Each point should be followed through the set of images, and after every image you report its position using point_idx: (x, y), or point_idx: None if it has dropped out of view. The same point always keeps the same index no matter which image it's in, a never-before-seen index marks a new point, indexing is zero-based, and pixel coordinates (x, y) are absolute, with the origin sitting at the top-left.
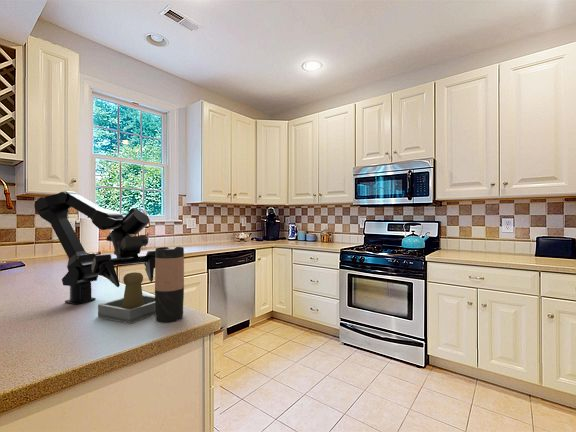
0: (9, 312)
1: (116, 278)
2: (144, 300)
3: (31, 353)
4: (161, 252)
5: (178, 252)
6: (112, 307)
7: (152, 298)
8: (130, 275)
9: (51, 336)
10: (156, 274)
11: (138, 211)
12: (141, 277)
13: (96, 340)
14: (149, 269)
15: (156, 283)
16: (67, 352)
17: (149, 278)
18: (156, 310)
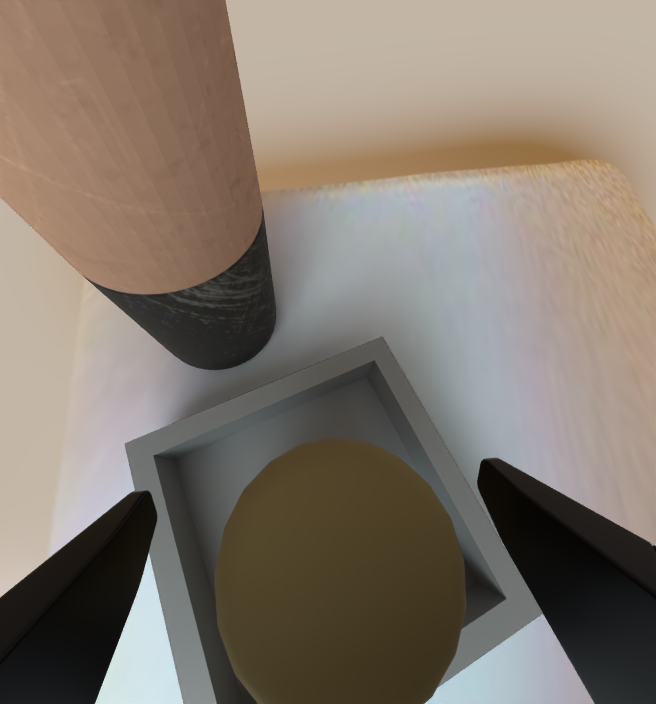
0: None
1: (559, 502)
2: (216, 643)
3: (644, 301)
4: None
5: None
6: (455, 463)
7: (183, 555)
8: (401, 480)
9: (639, 417)
10: (239, 82)
11: None
12: (261, 473)
13: (484, 280)
14: (9, 688)
15: (254, 161)
16: (549, 249)
17: (134, 571)
18: (272, 289)
